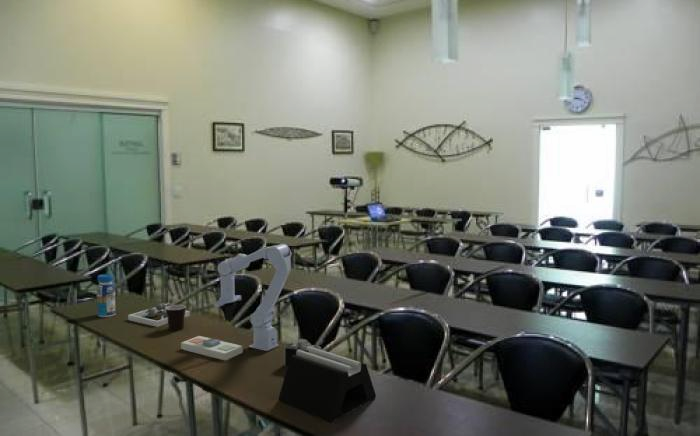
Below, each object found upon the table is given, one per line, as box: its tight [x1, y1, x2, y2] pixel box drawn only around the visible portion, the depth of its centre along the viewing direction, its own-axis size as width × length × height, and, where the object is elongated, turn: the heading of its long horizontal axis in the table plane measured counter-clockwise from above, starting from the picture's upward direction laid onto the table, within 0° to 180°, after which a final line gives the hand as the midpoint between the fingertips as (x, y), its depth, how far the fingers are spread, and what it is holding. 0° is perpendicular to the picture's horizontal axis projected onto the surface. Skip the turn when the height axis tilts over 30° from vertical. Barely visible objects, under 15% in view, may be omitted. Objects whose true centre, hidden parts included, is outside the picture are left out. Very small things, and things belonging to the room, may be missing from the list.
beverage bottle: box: [96, 273, 117, 318], centre depth 270 cm, size 8×8×20 cm
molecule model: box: [143, 302, 170, 320], centre depth 268 cm, size 15×9×11 cm
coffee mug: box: [166, 304, 187, 332], centre depth 251 cm, size 12×9×10 cm
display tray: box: [127, 306, 191, 328], centre depth 266 cm, size 20×20×2 cm
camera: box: [284, 338, 322, 368], centre depth 207 cm, size 15×7×10 cm, turn 72°
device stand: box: [278, 346, 377, 423], centre depth 178 cm, size 22×22×15 cm
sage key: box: [218, 345, 235, 351], centre depth 218 cm, size 5×5×2 cm
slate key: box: [203, 337, 221, 347], centre depth 222 cm, size 5×5×2 cm
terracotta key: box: [189, 337, 206, 344], centre depth 226 cm, size 5×5×2 cm
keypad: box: [180, 335, 244, 361], centre depth 222 cm, size 24×10×3 cm, turn 60°
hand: (228, 320), depth 232 cm, fingers closed
